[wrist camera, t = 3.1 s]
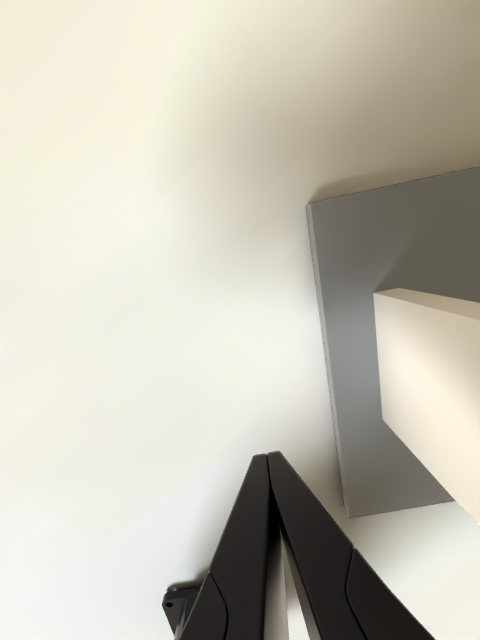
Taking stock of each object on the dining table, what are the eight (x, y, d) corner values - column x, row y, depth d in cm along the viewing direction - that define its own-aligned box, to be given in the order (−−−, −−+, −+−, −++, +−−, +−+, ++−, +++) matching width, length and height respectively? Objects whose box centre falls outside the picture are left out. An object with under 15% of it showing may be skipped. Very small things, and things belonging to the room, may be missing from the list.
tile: (405, 415, 14) (713, 702, 5) (382, 419, 14) (645, 712, 5) (399, 287, 12) (855, 370, 3) (373, 292, 12) (748, 390, 3)
